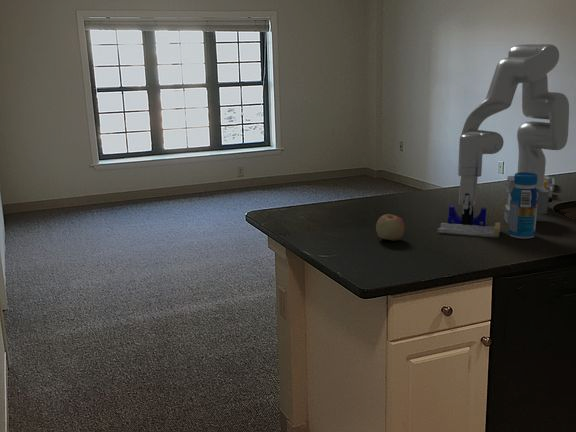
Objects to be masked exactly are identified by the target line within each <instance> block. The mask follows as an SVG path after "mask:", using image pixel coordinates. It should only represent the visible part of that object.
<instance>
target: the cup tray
mask: <svg viewBox="0 0 576 432" xmlns="http://www.w3.org/2000/svg"><path fill="white" fill-rule="evenodd" d="M548 177H549V182H548V184H546V186H552V192H554V191H555V177H550V176H548Z"/></svg>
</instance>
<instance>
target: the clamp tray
mask: <svg viewBox="0 0 576 432" xmlns="http://www.w3.org/2000/svg"><path fill="white" fill-rule="evenodd" d="M546 190H547V191H548V192H549V193H548V197H551V199H553V191H552V186H546ZM506 195H507V197H508V195H509V193H508V192H507V194H506Z"/></svg>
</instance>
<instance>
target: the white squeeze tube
mask: <svg viewBox="0 0 576 432" xmlns="http://www.w3.org/2000/svg"><path fill="white" fill-rule="evenodd" d="M501 224H502V223H501V222H497V221H496V222H495V223H494V226H490V225H485V226H478V225H465V224H451V223H448V222H440V227H437V234H444V235H445V234H446V235H455V236H457V235H458V236H470V237H482V238H495V239H496V238H497V239H499V237H500V232H501Z"/></svg>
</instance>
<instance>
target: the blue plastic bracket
mask: <svg viewBox="0 0 576 432" xmlns="http://www.w3.org/2000/svg"><path fill="white" fill-rule="evenodd" d="M455 207H456V206H455V205H453V204H452V205H451V204H450V205H449V207H448V216H447V223H451V224H462V216H461V215H459V214H458V212H457V209H456V208H455ZM486 220H487V207H486V206H482V207H481V208H480V212H479V213H478V214H477V215H476V216H475V217H473V218H472V224H471V225H478V226H486Z"/></svg>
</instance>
